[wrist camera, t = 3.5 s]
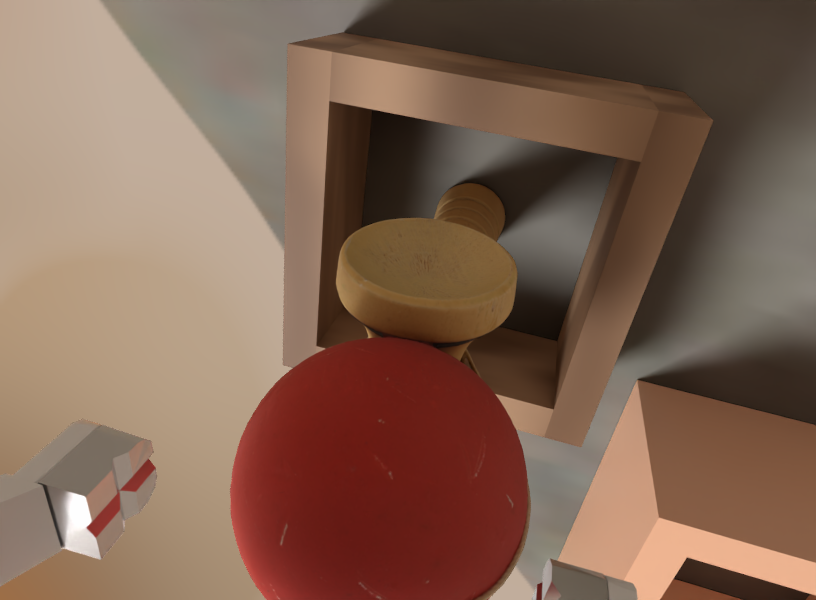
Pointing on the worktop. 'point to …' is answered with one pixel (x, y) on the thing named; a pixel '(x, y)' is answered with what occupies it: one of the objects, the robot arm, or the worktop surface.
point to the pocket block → (502, 114)
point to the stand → (699, 496)
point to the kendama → (393, 428)
